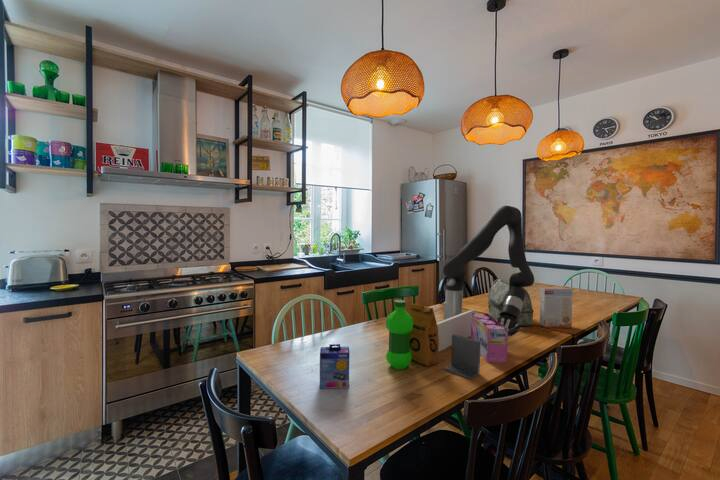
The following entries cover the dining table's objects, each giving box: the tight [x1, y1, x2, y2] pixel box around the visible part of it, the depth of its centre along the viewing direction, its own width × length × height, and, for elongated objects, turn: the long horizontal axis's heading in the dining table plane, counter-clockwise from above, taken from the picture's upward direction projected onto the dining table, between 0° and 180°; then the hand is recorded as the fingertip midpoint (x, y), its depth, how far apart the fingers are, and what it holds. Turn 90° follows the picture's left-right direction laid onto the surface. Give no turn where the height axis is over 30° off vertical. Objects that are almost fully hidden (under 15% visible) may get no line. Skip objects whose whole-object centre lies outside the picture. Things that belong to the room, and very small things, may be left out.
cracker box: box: [539, 286, 574, 329], centre depth 176 cm, size 14×6×21 cm, turn 84°
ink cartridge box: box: [319, 343, 350, 390], centre depth 111 cm, size 10×6×14 cm, turn 95°
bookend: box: [443, 334, 481, 380], centre depth 121 cm, size 10×6×12 cm, turn 45°
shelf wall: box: [437, 308, 477, 353], centre depth 150 cm, size 2×40×12 cm, turn 135°
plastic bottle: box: [385, 299, 413, 370], centre depth 125 cm, size 10×10×25 cm
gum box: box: [470, 312, 509, 364], centre depth 142 cm, size 24×8×14 cm, turn 178°
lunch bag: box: [487, 278, 534, 327], centre depth 188 cm, size 26×18×22 cm
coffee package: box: [408, 302, 439, 367], centre depth 131 cm, size 10×12×22 cm
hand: (499, 342), depth 140 cm, fingers closed
